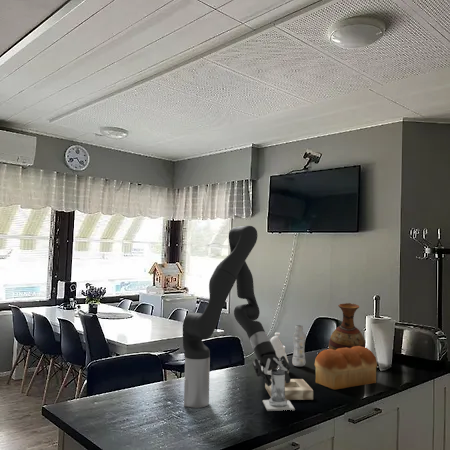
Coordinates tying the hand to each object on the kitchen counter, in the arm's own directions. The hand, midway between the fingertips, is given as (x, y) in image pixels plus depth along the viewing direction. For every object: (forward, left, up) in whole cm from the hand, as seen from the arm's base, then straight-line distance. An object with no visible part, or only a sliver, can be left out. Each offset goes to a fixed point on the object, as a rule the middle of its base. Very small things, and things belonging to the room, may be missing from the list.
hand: (279, 383), depth 169 cm
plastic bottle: (+22, +60, -8) cm, 64 cm away
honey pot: (+8, +50, -9) cm, 51 cm away
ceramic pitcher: (+52, +75, -8) cm, 91 cm away
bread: (+36, +31, -9) cm, 48 cm away
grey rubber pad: (0, +1, -8) cm, 8 cm away
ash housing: (+7, +16, -8) cm, 19 cm away
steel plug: (0, +1, -8) cm, 8 cm away
